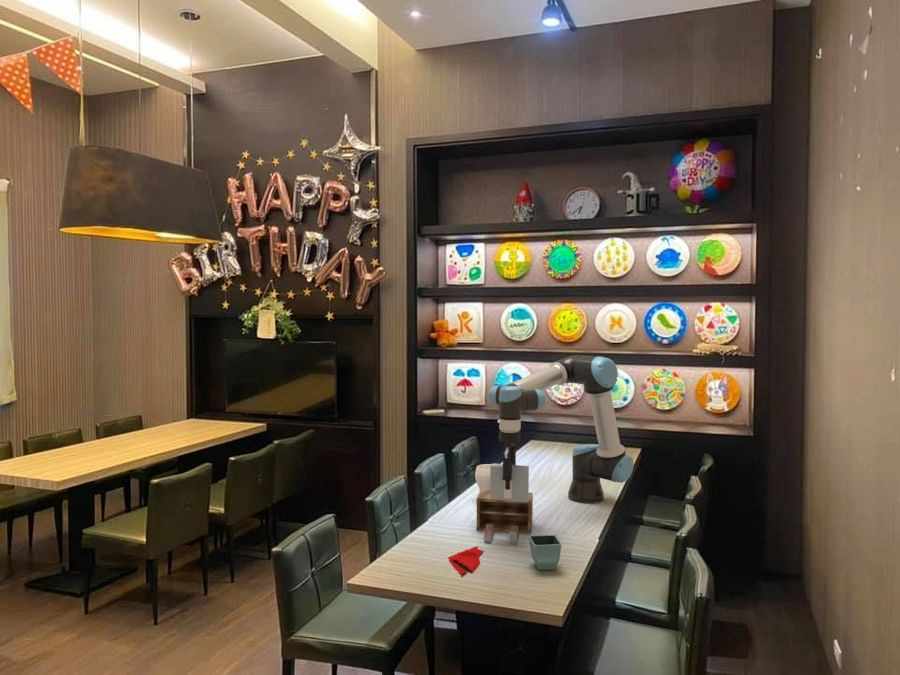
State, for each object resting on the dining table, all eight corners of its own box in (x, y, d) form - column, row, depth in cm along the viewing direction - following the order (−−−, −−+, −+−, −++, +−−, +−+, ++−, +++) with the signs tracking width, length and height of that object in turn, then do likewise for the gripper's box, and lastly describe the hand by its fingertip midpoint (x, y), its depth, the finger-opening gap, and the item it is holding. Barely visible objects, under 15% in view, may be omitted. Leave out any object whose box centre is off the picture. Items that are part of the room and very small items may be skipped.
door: (490, 499, 232) (490, 465, 232) (492, 495, 237) (493, 462, 236) (526, 502, 229) (527, 468, 228) (528, 498, 233) (529, 465, 232)
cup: (498, 506, 271) (498, 470, 270) (473, 505, 273) (473, 469, 272) (501, 499, 282) (502, 464, 281) (477, 497, 284) (477, 463, 283)
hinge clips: (519, 532, 241) (519, 520, 240) (516, 544, 229) (516, 532, 229) (488, 531, 243) (488, 519, 242) (484, 542, 231) (484, 530, 231)
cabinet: (532, 523, 251) (532, 492, 250) (530, 533, 240) (531, 501, 239) (480, 520, 254) (480, 489, 254) (476, 530, 243) (476, 498, 243)
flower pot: (528, 562, 214) (528, 535, 213) (554, 561, 215) (555, 534, 214) (533, 573, 205) (534, 545, 205) (561, 572, 206) (561, 544, 205)
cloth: (463, 545, 230) (463, 539, 230) (500, 552, 224) (500, 545, 224) (430, 573, 206) (430, 566, 206) (471, 581, 201) (471, 574, 201)
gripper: (504, 425, 240) (503, 489, 241) (494, 434, 224) (493, 502, 225) (524, 426, 238) (523, 490, 239) (515, 435, 222) (515, 504, 223)
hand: (509, 496), depth 232 cm, fingers closed on door, 3 cm apart
